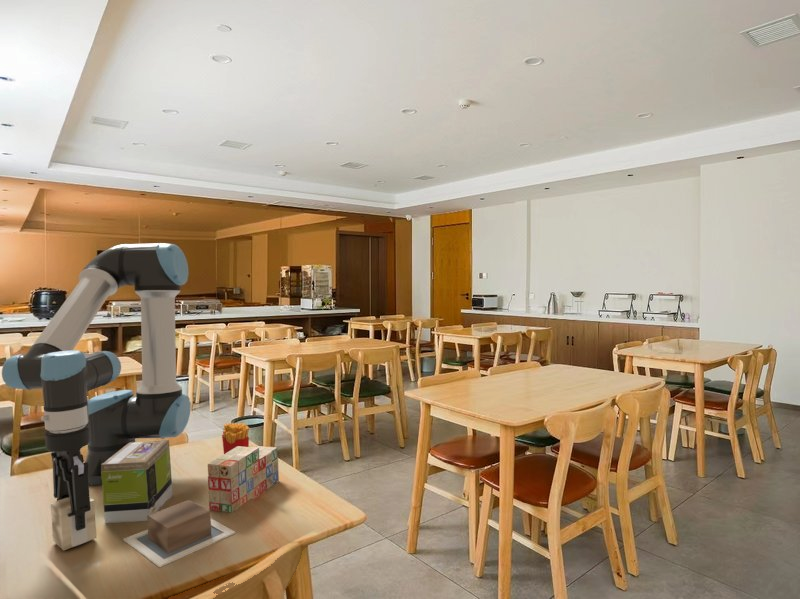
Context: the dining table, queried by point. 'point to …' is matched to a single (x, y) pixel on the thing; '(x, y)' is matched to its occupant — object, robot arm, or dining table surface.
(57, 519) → the beech brick
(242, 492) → the stack of blocks
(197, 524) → the walnut base block
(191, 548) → the board
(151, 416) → the robot arm
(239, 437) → the french fries
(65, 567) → the dining table surface
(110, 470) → the tea box
